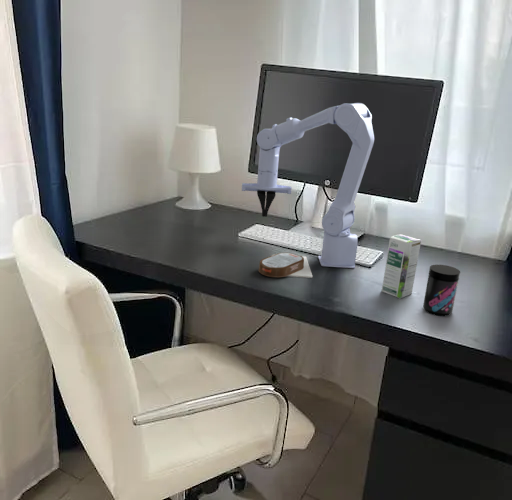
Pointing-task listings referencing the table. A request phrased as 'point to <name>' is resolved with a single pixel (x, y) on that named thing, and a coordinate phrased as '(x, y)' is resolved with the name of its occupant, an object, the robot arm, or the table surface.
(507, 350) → the table surface
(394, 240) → the syrup box
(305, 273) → the white flat panel
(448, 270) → the supplement container
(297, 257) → the tin
